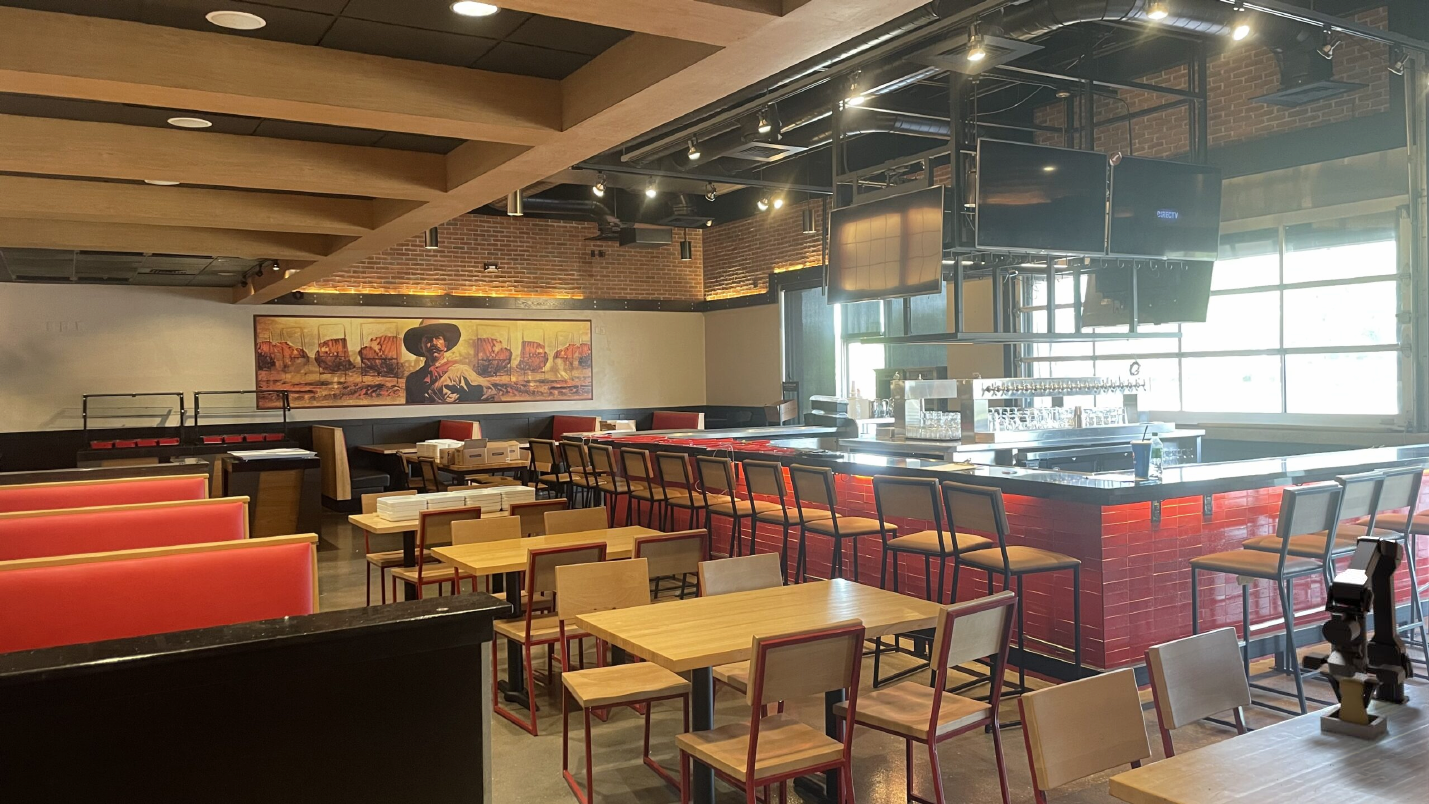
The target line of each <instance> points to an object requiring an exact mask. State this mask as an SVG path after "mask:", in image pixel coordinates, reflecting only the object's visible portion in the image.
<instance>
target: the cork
mask: <svg viewBox="0 0 1429 804" xmlns="http://www.w3.org/2000/svg"><path fill="white" fill-rule="evenodd" d="M1339 688H1340V690H1341V691H1342V697H1341V704H1340V705H1339V707H1340V713H1339V719H1340V720H1345V721H1350V722H1354V723H1359V724H1364V725H1369V720H1368V715H1367V713H1368V710H1367V709H1368V708H1367V709H1365V708H1364V693H1365V684H1364V680H1362V679H1361V678H1357V677H1352V678H1347V677H1345V676H1343V677H1342V679H1341V680H1340V682H1339Z"/></svg>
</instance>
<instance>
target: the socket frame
mask: <svg viewBox="0 0 1429 804" xmlns="http://www.w3.org/2000/svg"><path fill="white" fill-rule="evenodd" d="M1339 713H1340V706H1336V705H1335V706H1334V707H1333V708H1331V709H1330V710H1328V711H1327V712H1325V713H1324V714H1322V715H1321V716H1320V717H1319V719H1320V720H1319V721H1320V722H1319V723H1320V730H1321V731H1323V732H1329V733H1332V734H1336V735H1342V736H1346V737H1350V738H1356V739H1359V740H1363V741H1369V742H1373V741H1375V740H1376V739H1378V738H1379V737H1380V736H1381V735H1382V734H1384V733H1386V731H1388V717H1387V716H1386V715H1380V714H1375V713H1371V712H1367V715H1368V720H1369V725H1364V724H1359V723H1354V722H1350V721H1345V720H1340V719H1339Z"/></svg>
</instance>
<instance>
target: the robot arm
mask: <svg viewBox="0 0 1429 804" xmlns="http://www.w3.org/2000/svg"><path fill="white" fill-rule="evenodd" d="M1404 553H1405V550H1404V547H1403V545H1402V544H1400V543H1398V540H1397V539H1396V540H1394V539H1385V538H1381V537H1379V536H1366V535H1362V536H1358V537H1357V539H1356V547H1355V550H1354V552H1353V555H1352V558H1351V559H1350V561H1349V564H1348V565H1347V566H1348V567H1347V568H1346V570H1345V571H1344V572H1341V573H1339V574H1337V575H1336V576H1335V578H1334V579H1333V580H1332V582H1331V583H1330V584H1329V587H1328V592H1327V597H1326V601H1325V607H1324V612H1326V613H1327V612H1328V613H1331V618H1330V619H1328V620H1327V621H1325V622H1324V623H1323V626H1322V628H1321V634H1322V636H1323V638H1324V640H1326V642H1328V643H1329V644H1331V645H1334V647H1333V648H1334V649H1333V651H1332V653H1331V654H1330V655H1329V653H1322V652H1317V651H1311V652H1309V653H1307V654H1305V655H1304V656H1303V657H1302V659H1301V667H1302V668H1303V669H1307V670H1312V671H1318V670H1319V672H1318V674H1319V675H1321V676H1323V677H1325V678H1326V679H1327V680H1328V682H1329V683H1330V686H1331V688H1332V690H1333V693H1334V695H1335V697H1336V699H1337V702H1338V704H1340V705H1341V697H1342V691H1341V690H1340V688H1339V682H1340V680H1341V679H1342V678H1343V677H1347V678H1352V677H1353V678H1355V676H1356V673H1357V674H1363V675H1366V677H1367V678H1365V679H1364V680H1363V681H1364V684H1365V693H1364V708H1365V709H1368V708H1369V706H1370V705H1371V701H1372V700H1377V701H1383V702H1388V703H1393V704H1399V705H1403V704H1405V703H1406V702H1407V701H1409V700H1410V696H1409V695H1405V681H1406V679H1407V680H1408V679H1414V678H1415V672H1414V665H1413V663H1412V659H1411V658H1410V655H1409V654H1408V653H1407V647H1406V643H1405V642H1404V640H1403V639H1402V638H1401V637H1400V635H1399V634H1398V632H1397V631H1398V629H1397V613H1396V611H1397V610H1396V596H1395V595H1396V593H1395V573H1396V572H1397V570H1399V568H1400V566H1401V565H1402V561H1403V560H1404ZM1370 581H1371V585H1370ZM1371 610H1372V614H1373V618H1372V619H1373V631H1374V632H1373V633H1374V634H1373V636H1372V637H1371V638H1370V640H1369V639H1368V635H1367V632H1368V631H1367V627H1368V626H1367V625H1368V624H1367V616H1368V615H1369V614H1368V613H1371ZM1375 693H1376V694H1375Z"/></svg>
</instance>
